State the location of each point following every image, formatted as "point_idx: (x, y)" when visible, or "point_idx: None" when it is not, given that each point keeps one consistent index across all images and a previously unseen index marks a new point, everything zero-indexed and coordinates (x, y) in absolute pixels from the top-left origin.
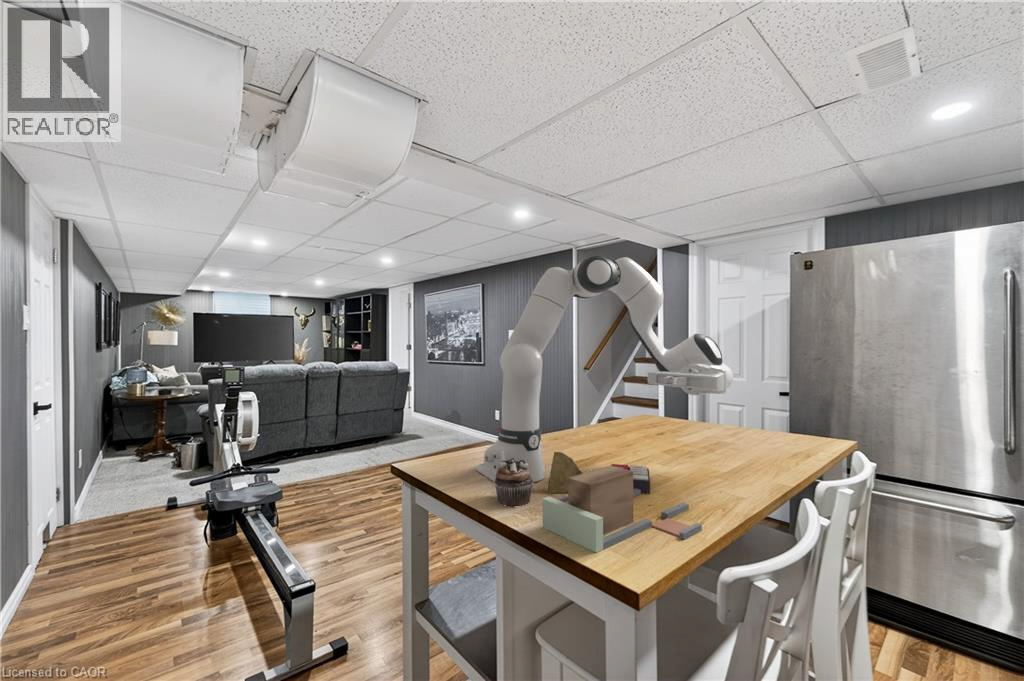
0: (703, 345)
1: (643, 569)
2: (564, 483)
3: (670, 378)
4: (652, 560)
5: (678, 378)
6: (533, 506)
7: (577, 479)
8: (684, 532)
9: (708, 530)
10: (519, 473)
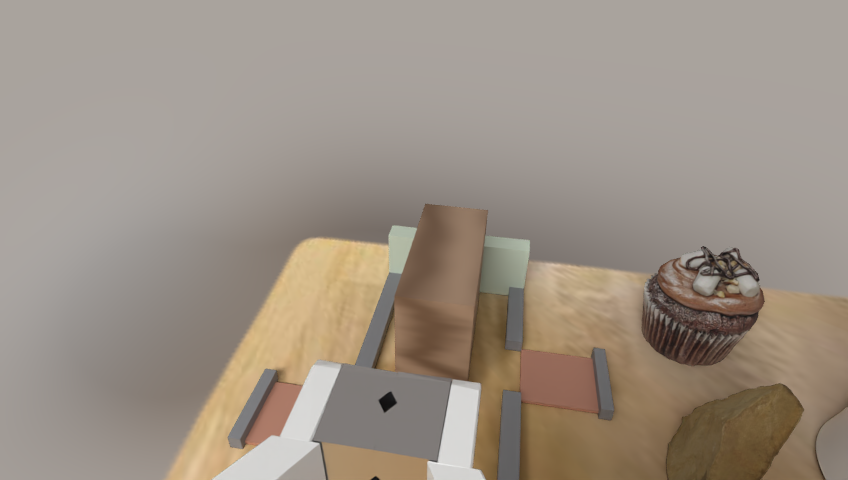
0: None
1: (312, 270)
2: (684, 438)
3: (375, 369)
4: (307, 293)
5: (265, 444)
6: (624, 338)
7: (465, 211)
8: (265, 373)
9: (213, 456)
10: (672, 268)
